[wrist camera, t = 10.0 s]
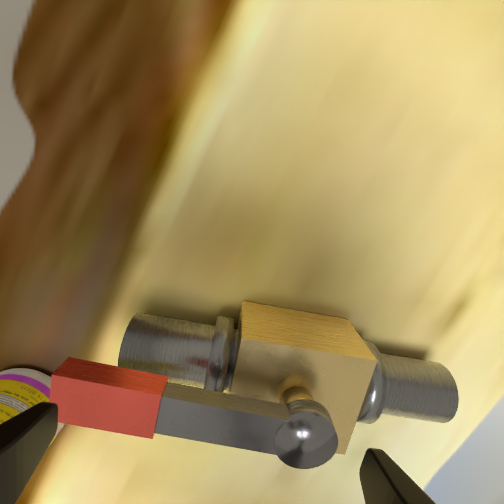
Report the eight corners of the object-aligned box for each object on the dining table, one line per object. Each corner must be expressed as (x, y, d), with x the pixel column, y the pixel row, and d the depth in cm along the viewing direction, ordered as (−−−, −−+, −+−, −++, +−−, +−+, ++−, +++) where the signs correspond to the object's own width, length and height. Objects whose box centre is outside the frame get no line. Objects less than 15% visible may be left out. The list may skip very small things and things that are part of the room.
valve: (401, 402, 24) (464, 493, 17) (140, 362, 23) (93, 443, 16) (429, 329, 22) (512, 397, 15) (149, 280, 21) (101, 332, 14)
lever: (338, 404, 15) (347, 425, 14) (320, 451, 16) (327, 474, 15) (69, 351, 14) (51, 369, 13) (64, 404, 15) (47, 425, 14)
